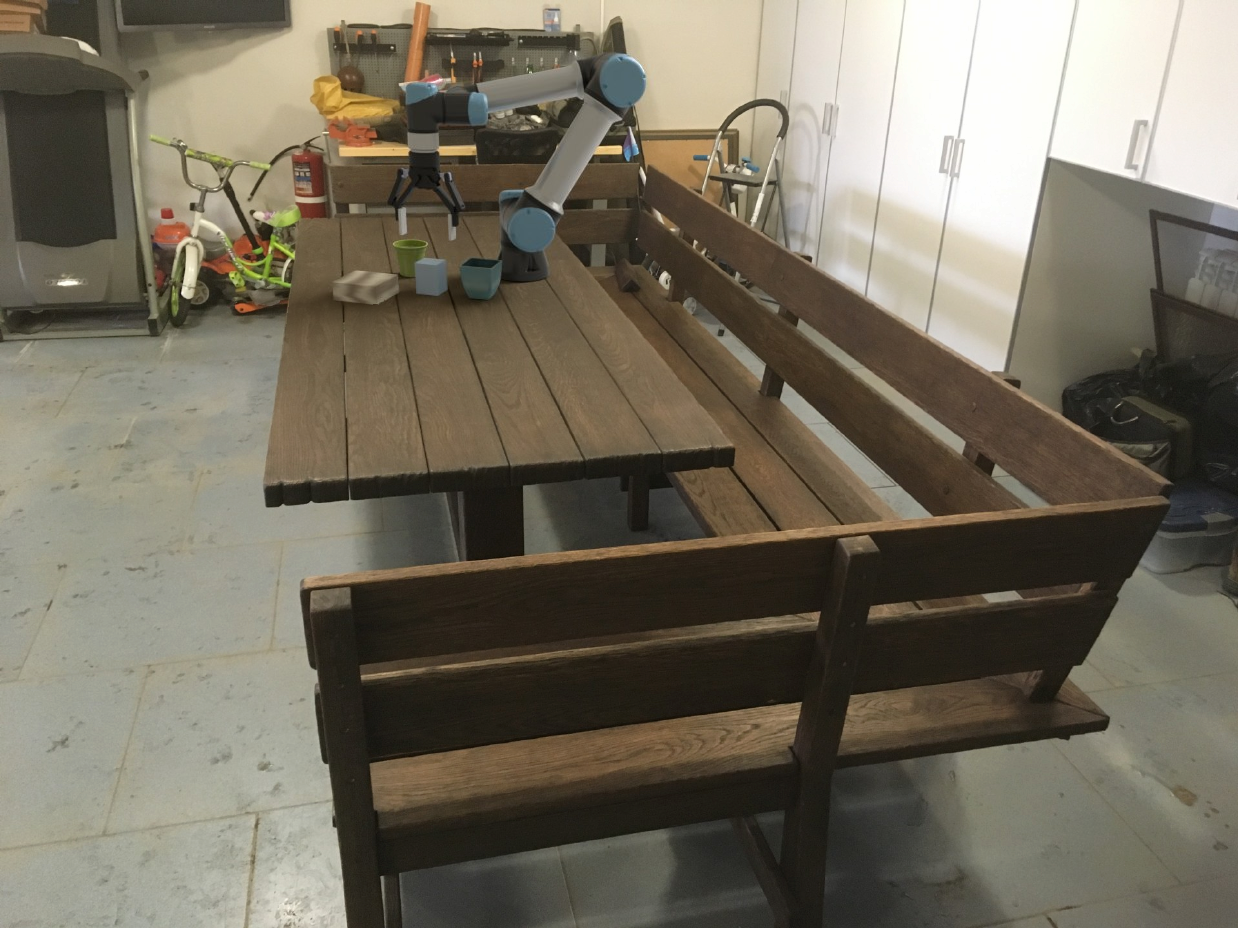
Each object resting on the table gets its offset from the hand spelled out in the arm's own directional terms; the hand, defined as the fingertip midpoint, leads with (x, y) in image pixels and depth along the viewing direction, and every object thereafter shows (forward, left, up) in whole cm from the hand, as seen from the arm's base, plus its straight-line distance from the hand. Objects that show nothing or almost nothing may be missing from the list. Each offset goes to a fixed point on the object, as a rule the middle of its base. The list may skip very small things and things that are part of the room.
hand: (427, 237), depth 251 cm
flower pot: (-14, 0, -15) cm, 20 cm away
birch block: (+13, +9, -15) cm, 22 cm away
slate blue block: (0, 0, -14) cm, 14 cm away
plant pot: (+12, -13, -15) cm, 23 cm away
